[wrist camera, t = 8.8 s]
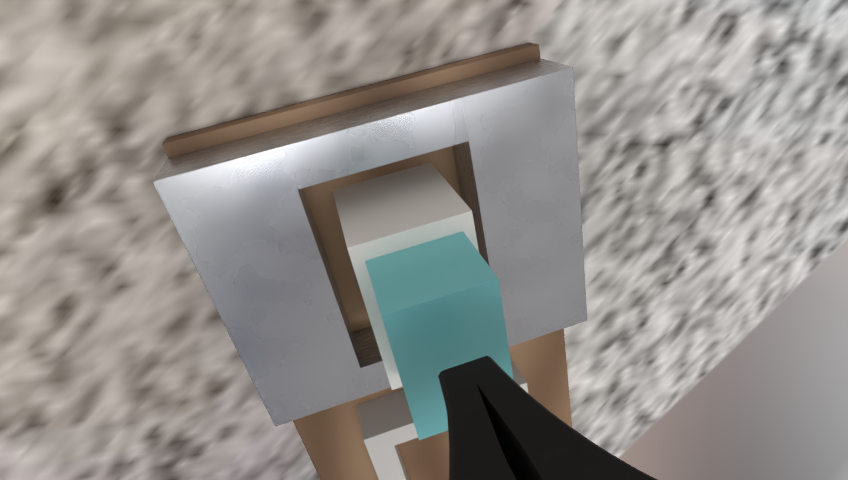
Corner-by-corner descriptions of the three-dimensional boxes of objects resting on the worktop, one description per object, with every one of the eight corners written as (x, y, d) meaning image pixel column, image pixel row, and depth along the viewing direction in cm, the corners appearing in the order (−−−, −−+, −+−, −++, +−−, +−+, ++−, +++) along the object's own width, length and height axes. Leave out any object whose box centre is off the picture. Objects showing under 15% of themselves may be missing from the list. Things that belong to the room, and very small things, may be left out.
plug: (370, 312, 22) (410, 457, 16) (332, 189, 20) (360, 301, 13) (455, 285, 23) (531, 414, 16) (430, 162, 20) (509, 255, 13)
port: (275, 384, 23) (275, 426, 21) (168, 157, 18) (152, 181, 15) (560, 291, 25) (587, 320, 22) (540, 58, 19) (572, 67, 17)
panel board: (348, 529, 30) (350, 541, 29) (166, 138, 18) (162, 144, 17) (568, 447, 31) (574, 457, 31) (529, 42, 20) (538, 44, 19)
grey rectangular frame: (400, 520, 29) (408, 557, 27) (357, 405, 25) (363, 440, 23) (527, 472, 30) (544, 505, 28) (508, 353, 26) (526, 382, 24)
